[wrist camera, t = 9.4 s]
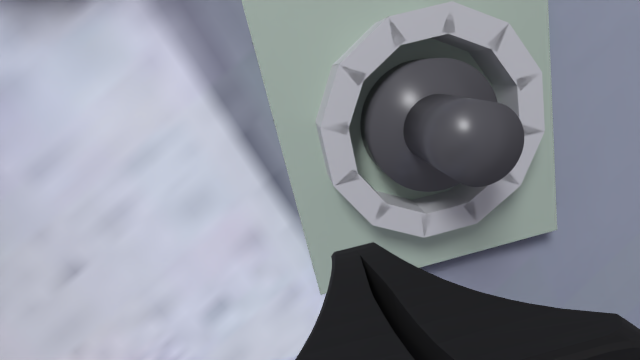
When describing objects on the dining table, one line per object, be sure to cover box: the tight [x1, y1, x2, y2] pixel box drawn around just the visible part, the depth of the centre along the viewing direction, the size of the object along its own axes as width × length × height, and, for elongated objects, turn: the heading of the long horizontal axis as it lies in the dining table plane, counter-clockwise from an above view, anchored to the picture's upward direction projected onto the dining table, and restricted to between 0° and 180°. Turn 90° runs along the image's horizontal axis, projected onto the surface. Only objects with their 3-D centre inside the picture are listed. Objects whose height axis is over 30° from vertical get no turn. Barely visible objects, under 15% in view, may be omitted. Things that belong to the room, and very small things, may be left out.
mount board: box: [242, 0, 557, 295], centre depth 18 cm, size 16×14×4 cm
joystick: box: [360, 58, 524, 192], centre depth 16 cm, size 6×6×6 cm
